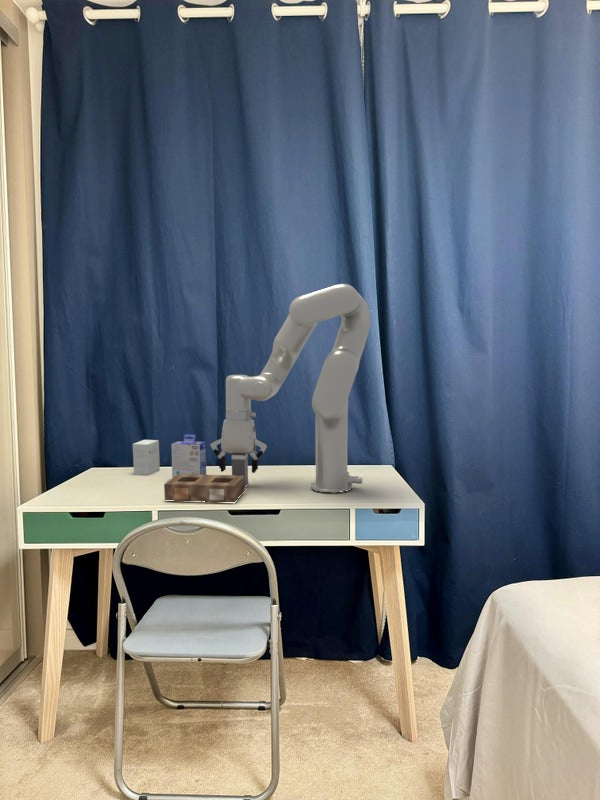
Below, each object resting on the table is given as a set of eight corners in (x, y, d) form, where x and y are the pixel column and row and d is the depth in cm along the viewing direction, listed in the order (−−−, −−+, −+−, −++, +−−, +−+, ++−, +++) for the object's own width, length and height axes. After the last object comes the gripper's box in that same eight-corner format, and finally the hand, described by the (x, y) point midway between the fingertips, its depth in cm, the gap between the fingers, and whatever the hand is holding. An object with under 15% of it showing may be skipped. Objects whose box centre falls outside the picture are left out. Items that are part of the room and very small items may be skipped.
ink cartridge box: (207, 478, 194) (206, 434, 192) (201, 482, 189) (200, 437, 187) (178, 477, 196) (177, 433, 194) (171, 481, 191) (170, 436, 189)
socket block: (244, 492, 177) (244, 475, 176) (234, 504, 165) (234, 486, 164) (179, 490, 179) (178, 474, 179) (164, 501, 167) (163, 484, 167)
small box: (145, 469, 208) (144, 439, 207) (160, 470, 207) (159, 440, 206) (133, 474, 201) (132, 443, 199) (148, 475, 199) (147, 444, 198)
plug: (248, 484, 186) (247, 452, 185) (245, 487, 182) (244, 455, 181) (235, 484, 186) (234, 452, 185) (232, 487, 182) (231, 455, 181)
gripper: (268, 414, 184) (268, 469, 186) (214, 413, 186) (214, 467, 188) (264, 418, 177) (264, 475, 179) (207, 416, 179) (207, 473, 181)
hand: (238, 471), depth 184 cm, fingers open, 9 cm apart
